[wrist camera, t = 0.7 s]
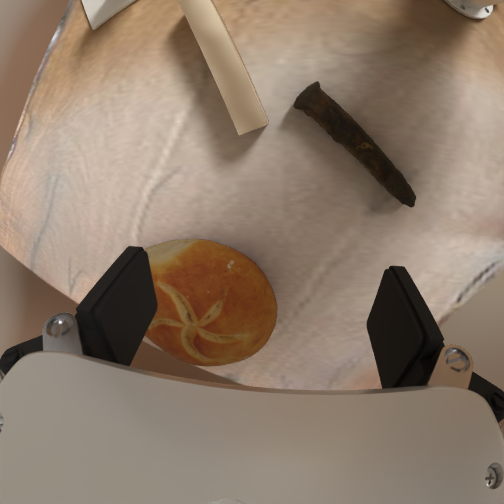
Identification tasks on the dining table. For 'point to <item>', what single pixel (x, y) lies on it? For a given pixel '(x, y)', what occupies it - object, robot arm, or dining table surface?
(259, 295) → the bread
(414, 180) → the dining table surface
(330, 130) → the rusty brown spike
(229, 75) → the beige long bar
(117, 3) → the mat
